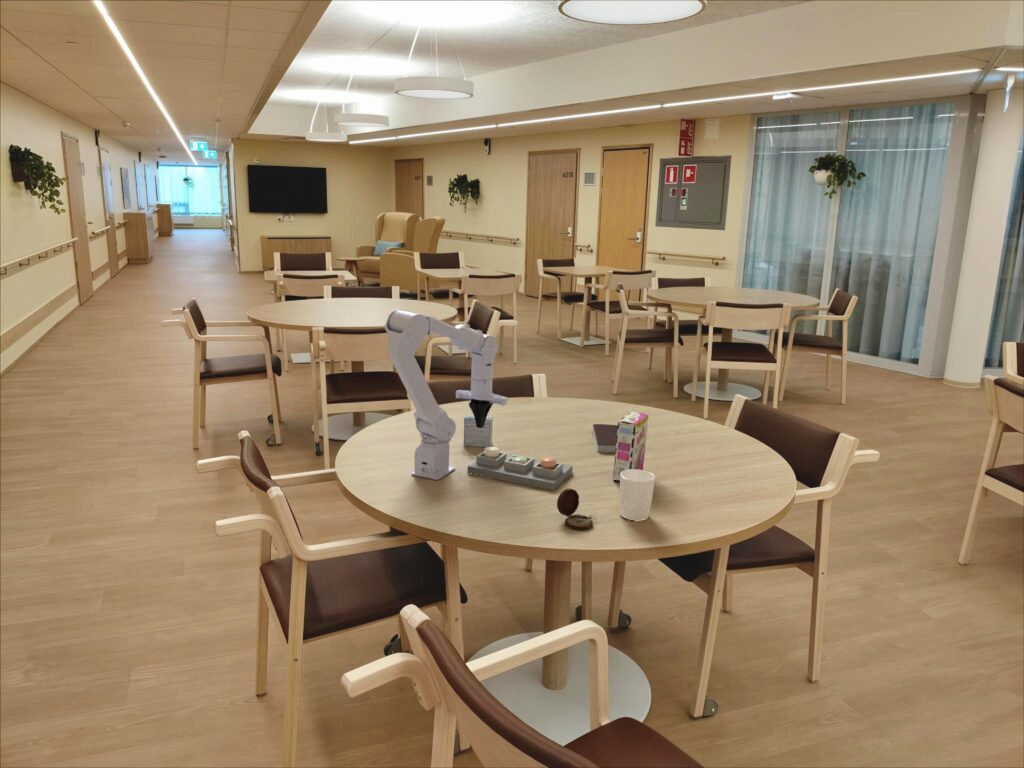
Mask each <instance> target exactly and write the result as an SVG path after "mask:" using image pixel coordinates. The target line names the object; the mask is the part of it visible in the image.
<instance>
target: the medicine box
mask: <svg viewBox="0 0 1024 768" xmlns="http://www.w3.org/2000/svg"><path fill="white" fill-rule="evenodd" d="M492 443H493V415H490V414H489V415H487V417H486V420H485V424H484V427H482V428H477V427H476V422H475V418H474V415H473V413H467V414H465V416H464V418H463V447H473V446H479V447H478V448H486V447H492Z"/></svg>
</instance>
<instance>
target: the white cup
mask: <svg viewBox="0 0 1024 768" xmlns="http://www.w3.org/2000/svg"><path fill="white" fill-rule="evenodd" d="M655 479H656V475H655V474H654V473H652V472H650V471H647V470H645V469H643V470H638V469H629V470H624V471H622V472H621V473H620V482H619V516H620V515H621V516H622V517H624V518H627V519H633V520H641V519H646V518H647V517H649V518H650V510H651V506H652V501H653V497H654V496H653V495H654V489H655V488H654V487H655V482H656V481H655ZM621 516H620V517H621ZM622 517H621V518H622ZM624 518H623V519H624Z"/></svg>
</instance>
